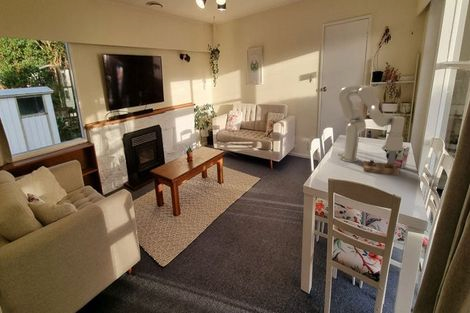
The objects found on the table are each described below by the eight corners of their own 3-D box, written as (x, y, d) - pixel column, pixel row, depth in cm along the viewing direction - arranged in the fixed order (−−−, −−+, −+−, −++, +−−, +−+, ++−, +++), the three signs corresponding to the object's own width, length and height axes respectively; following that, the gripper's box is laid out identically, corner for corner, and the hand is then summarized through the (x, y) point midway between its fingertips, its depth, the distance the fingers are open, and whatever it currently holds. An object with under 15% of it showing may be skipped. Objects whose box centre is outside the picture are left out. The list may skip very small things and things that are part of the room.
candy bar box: (405, 167, 184) (410, 147, 179) (400, 169, 183) (405, 148, 177) (391, 162, 194) (395, 143, 189) (387, 163, 193) (391, 144, 187)
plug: (387, 162, 177) (389, 152, 175) (387, 160, 181) (388, 150, 178) (394, 163, 176) (396, 152, 173) (393, 161, 179) (395, 150, 176)
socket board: (363, 171, 182) (364, 165, 180) (363, 164, 194) (363, 159, 192) (398, 175, 173) (399, 169, 171) (395, 168, 185) (396, 162, 183)
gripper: (382, 134, 171) (378, 159, 178) (410, 136, 165) (405, 161, 171) (381, 132, 178) (377, 155, 184) (408, 133, 171) (403, 158, 177)
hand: (391, 158), depth 177 cm, fingers closed on plug, 4 cm apart
